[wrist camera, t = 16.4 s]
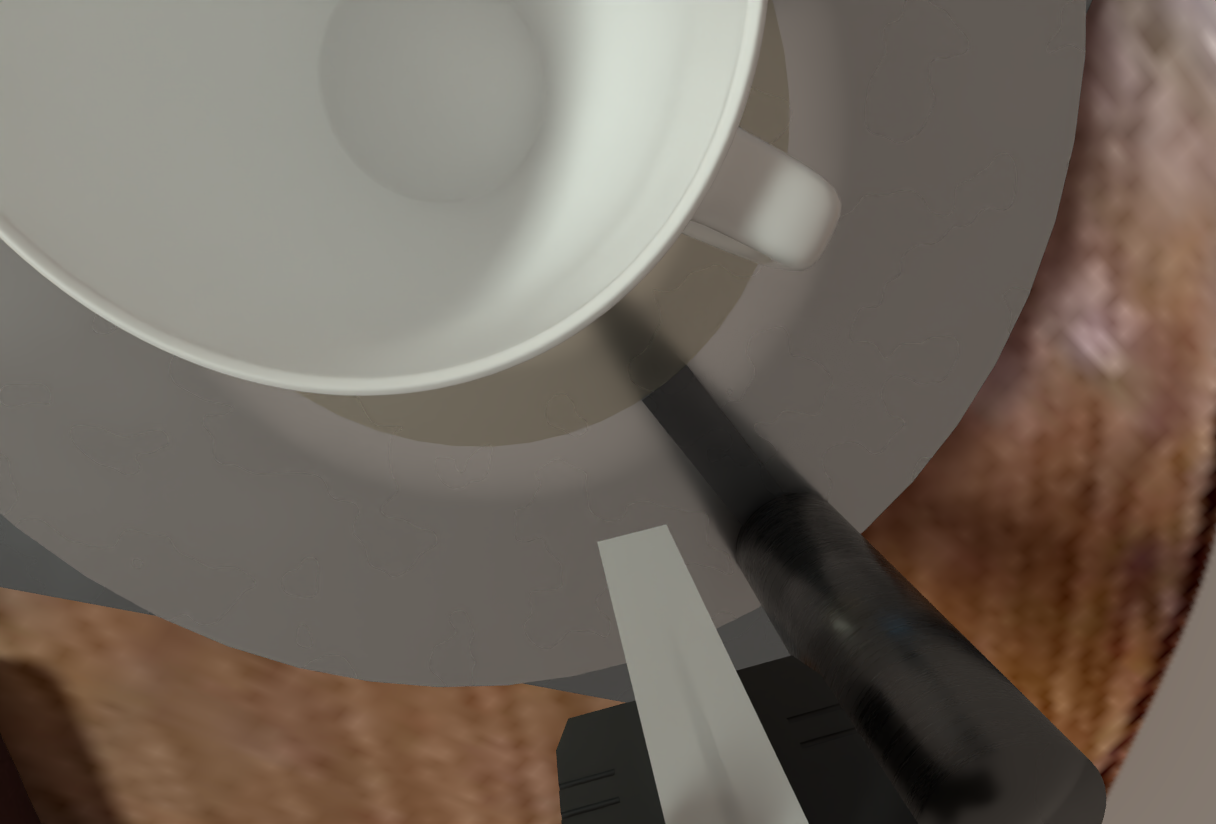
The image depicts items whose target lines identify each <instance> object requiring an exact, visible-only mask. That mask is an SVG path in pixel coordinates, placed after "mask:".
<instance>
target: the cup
mask: <svg viewBox="0 0 1216 824" xmlns="http://www.w3.org/2000/svg"><path fill="white" fill-rule="evenodd" d="M767 7H768V0H0V238H1V239H2V240H3V241H4V242H5V243H6V244H7V245H8V246H9V247H10V248H11V249H13V250H14V251H15V252H16V253H17V254H18V255H19V256H20V257H21V258H23V259H24V260H25V261H26V262H27V263H28V264H30V265H31V266H32V267H33V268H34V269H36V270H37V271H38V272H39V273H40V274H42V275H43V276H44V277H45V278H47V279H48V280H49V281H51V282H52V283H53V284H54V285H56V286H57V287H58V288H60V289H61V290H62V291H64V292H65V293H67V294H68V295H69V296H71V297H72V298H74V299H75V300H76V301H78V302H79V303H81V304H82V305H84V306H85V307H87V308H88V309H90V310H91V311H93V312H94V313H96V314H98V315H99V316H101V317H102V318H104V319H106V320H107V321H109V322H111V323H112V324H114V325H116V326H117V327H119V328H121V329H122V330H124V331H126V332H128V333H130V334H132V335H134V336H135V337H137V338H139V339H141V340H143V341H145V342H147V343H149V344H151V345H153V346H155V347H157V348H159V349H161V350H164V351H166V352H168V353H170V354H173V355H175V356H177V357H180V358H182V359H184V360H187V361H189V362H192V363H195V364H197V365H200V366H202V367H205V368H208V369H211V370H214V371H217V372H220V373H223V374H226V375H229V376H233V377H236V378H240V379H243V380H247V381H251V382H255V383H259V384H263V385H268V386H273V387H278V388H283V389H289V390H295V391H301V392H309V393H318V394H329V395H344V396H382V395H396V394H407V393H415V392H423V391H429V390H435V389H440V388H445V387H450V386H455V385H459V384H463V383H466V382H470V381H474V380H477V379H480V378H484V377H487V376H490V375H493V374H496V373H498V372H501V371H504V370H507V369H509V368H512V367H514V366H516V365H519V364H521V363H523V362H526V361H528V360H530V359H532V358H534V357H536V356H538V355H540V354H542V353H544V352H546V351H548V350H550V349H552V348H554V347H555V346H557V345H559V344H561V343H562V342H564V341H566V340H567V339H569V338H571V337H572V336H574V335H575V334H577V333H578V332H580V331H581V330H583V329H584V328H586V327H587V326H589V325H590V324H592V323H593V322H594V321H596V320H597V319H598V318H600V317H601V316H602V315H604V314H605V313H606V312H607V311H609V310H610V309H611V308H612V307H613V306H615V305H616V304H617V303H618V302H619V301H621V300H622V299H623V298H624V297H625V296H626V295H627V294H628V293H629V292H630V291H631V290H633V289H634V288H635V287H636V286H637V285H638V284H639V283H640V282H641V281H642V280H643V279H644V278H645V277H646V276H647V275H648V273H649V272H650V271H651V270H652V269H653V268H654V267H655V266H656V265H657V263H658V262H659V261H660V260H661V259H662V258H663V256H664V255H665V254H666V253H667V252H668V250H669V249H670V248H671V247H672V245H673V244H674V243H675V241H676V240H677V239H678V237H679V236H680V235H681V233H682V234H684V235H686V236H689V237H691V238H694V239H696V240H698V241H701V242H703V243H706V244H708V245H711V246H713V247H715V248H718V249H720V250H723V251H725V252H728V253H731V254H733V255H736V256H738V257H741V258H744V259H746V260H749V261H752V262H755V263H758V264H761V265H764V266H767V267H770V268H773V269H777V270H781V271H787V272H801V271H804V270H806V269H808V268H810V267H812V266H813V265H814V264H815V263H816V262H817V261H818V260H819V259H820V258H821V256H822V254H823V253H824V251H825V250H826V248H827V246H828V244H829V242H830V240H831V238H832V236H833V234H834V232H835V230H836V228H837V225H838V222H839V220H840V214H841V207H842V203H841V199H840V195H839V194H838V192H837V191H836V190H835V188H834V187H833V186H832V185H831V184H830V183H829V182H828V180H826V179H825V178H824V177H823V176H821V175H820V174H819V173H818V172H816V171H815V170H813V169H812V168H810V167H809V166H807V165H805V164H804V163H802V162H801V161H799V160H797V159H796V158H794V157H792V156H791V155H789V154H787V153H785V152H784V151H782V150H780V149H778V148H776V147H774V146H773V145H771V144H769V143H767V142H765V141H763V140H761V139H759V138H758V137H756V136H754V135H752V134H750V133H748V132H747V131H745V130H744V129H742V128H741V127H739V124H740V121H741V119H742V116H743V113H744V110H745V107H746V104H747V101H748V97H749V94H750V90H751V87H752V83H753V80H754V76H755V72H756V67H757V63H758V59H759V55H760V49H761V44H762V39H763V34H764V28H765V21H766V15H767Z"/></svg>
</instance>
